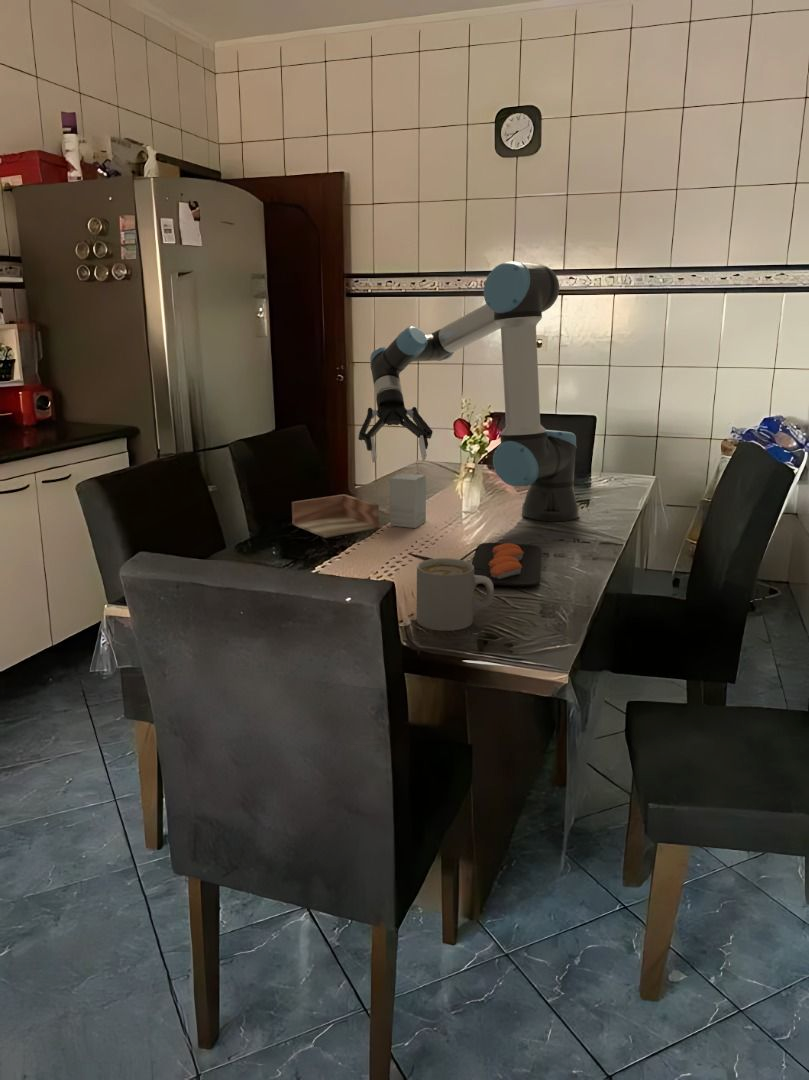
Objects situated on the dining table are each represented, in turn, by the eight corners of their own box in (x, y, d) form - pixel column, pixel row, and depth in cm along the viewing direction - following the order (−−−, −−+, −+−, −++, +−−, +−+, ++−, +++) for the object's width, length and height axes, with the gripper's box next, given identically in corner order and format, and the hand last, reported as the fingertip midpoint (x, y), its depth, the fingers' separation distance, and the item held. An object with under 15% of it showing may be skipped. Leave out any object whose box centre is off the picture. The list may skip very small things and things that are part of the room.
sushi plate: (539, 594, 157) (540, 575, 156) (389, 585, 162) (389, 567, 161) (541, 552, 184) (542, 536, 183) (412, 546, 189) (412, 531, 188)
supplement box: (426, 522, 210) (427, 474, 206) (415, 528, 203) (415, 479, 200) (401, 519, 213) (401, 472, 209) (388, 525, 206) (388, 477, 203)
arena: (378, 528, 204) (378, 505, 202) (324, 537, 195) (324, 513, 193) (344, 515, 216) (344, 494, 214) (292, 524, 207) (291, 501, 205)
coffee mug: (411, 628, 138) (411, 572, 136) (422, 608, 148) (423, 556, 145) (488, 634, 135) (490, 578, 133) (495, 614, 145) (497, 561, 142)
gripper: (430, 404, 230) (442, 465, 220) (343, 405, 225) (352, 468, 215) (434, 387, 223) (447, 449, 213) (346, 388, 218) (354, 451, 208)
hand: (399, 458), depth 214 cm, fingers open, 13 cm apart
